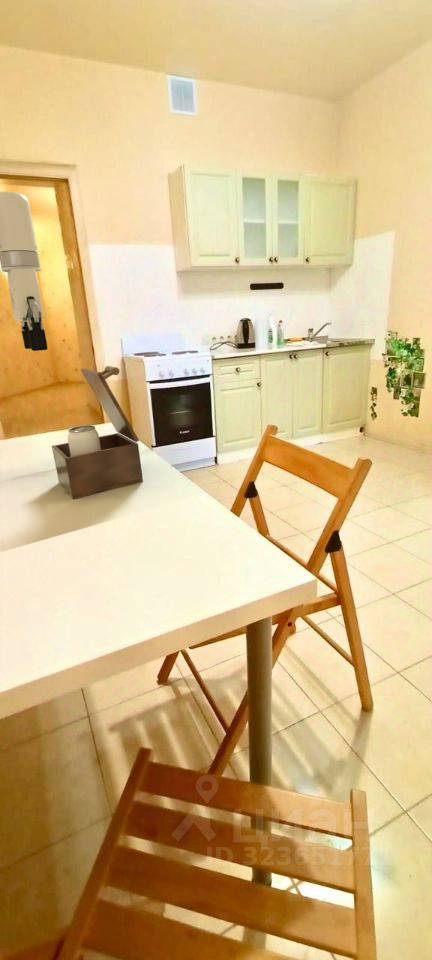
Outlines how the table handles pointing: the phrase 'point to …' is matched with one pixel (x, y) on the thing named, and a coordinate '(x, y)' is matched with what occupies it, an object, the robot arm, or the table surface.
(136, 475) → the chest
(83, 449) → the can
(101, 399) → the lid
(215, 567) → the table surface
